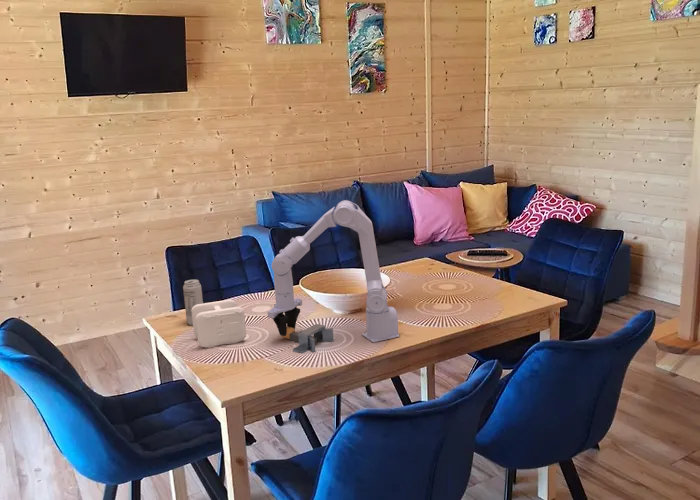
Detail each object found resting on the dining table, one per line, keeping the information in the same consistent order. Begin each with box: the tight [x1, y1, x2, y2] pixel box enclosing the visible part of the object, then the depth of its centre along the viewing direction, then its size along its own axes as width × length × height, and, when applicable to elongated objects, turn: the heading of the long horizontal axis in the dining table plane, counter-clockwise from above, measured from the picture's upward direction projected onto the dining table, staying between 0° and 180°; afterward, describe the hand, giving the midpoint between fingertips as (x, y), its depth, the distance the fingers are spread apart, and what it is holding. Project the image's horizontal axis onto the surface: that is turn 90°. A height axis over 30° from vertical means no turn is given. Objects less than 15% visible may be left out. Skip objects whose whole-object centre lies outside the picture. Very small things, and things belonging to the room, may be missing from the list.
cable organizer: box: [191, 299, 247, 349], centre depth 205 cm, size 15×11×12 cm
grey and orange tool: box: [280, 327, 317, 345], centre depth 203 cm, size 13×4×4 cm, turn 56°
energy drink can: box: [182, 279, 204, 327], centre depth 222 cm, size 6×6×15 cm
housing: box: [292, 323, 335, 354], centre depth 199 cm, size 6×15×5 cm, turn 146°
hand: (287, 333), depth 206 cm, fingers closed on grey and orange tool, 4 cm apart
